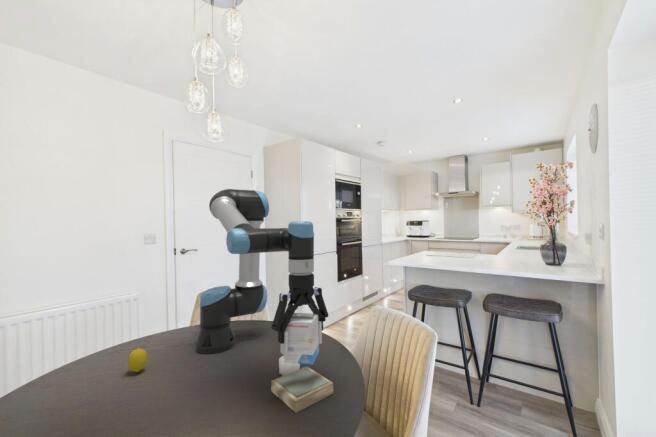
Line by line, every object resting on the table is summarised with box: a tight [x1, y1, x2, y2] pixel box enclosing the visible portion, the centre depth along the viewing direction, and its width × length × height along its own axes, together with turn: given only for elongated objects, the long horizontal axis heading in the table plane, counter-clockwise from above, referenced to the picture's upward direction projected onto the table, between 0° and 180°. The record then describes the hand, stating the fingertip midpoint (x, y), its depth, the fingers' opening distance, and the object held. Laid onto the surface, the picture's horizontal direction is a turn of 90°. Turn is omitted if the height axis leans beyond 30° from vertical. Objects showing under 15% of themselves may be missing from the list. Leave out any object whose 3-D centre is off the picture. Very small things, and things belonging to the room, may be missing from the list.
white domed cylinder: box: [278, 355, 301, 376], centre depth 94 cm, size 7×7×4 cm
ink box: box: [283, 312, 320, 366], centre depth 82 cm, size 9×8×13 cm
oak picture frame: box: [270, 366, 334, 414], centre depth 82 cm, size 13×13×3 cm
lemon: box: [127, 347, 148, 373], centre depth 94 cm, size 6×6×8 cm
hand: (301, 348), depth 82 cm, fingers closed on ink box, 11 cm apart
